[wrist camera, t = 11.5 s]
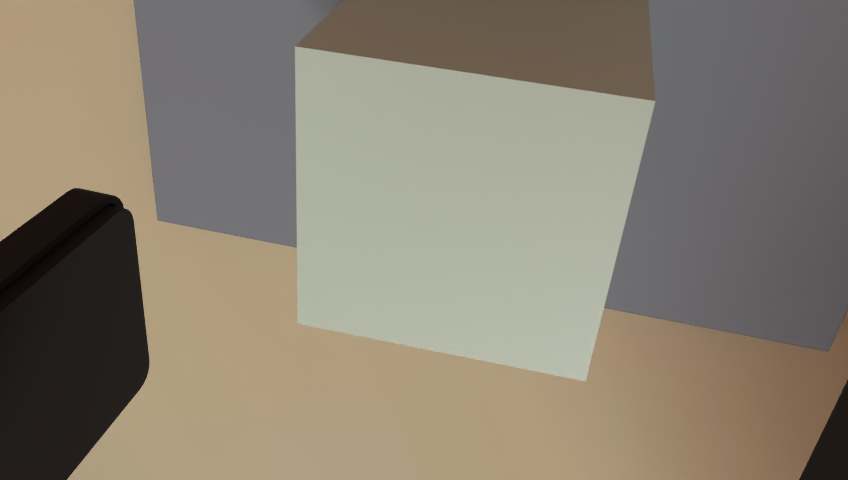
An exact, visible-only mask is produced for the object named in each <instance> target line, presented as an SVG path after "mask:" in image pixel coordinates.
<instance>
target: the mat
mask: <svg viewBox="0 0 848 480" xmlns="http://www.w3.org/2000/svg"><path fill="white" fill-rule="evenodd" d="M342 1H343V0H134V7H135V17H136V26H137V35H138V44H139V54H140V63H141V72H142V81H143V90H144V100H145V109H146V118H147V127H148V136H149V146H150V155H151V164H152V173H153V182H154V192H155V201H156V210H157V219H158V221H163V222H168V223H173V224H179V225H184V226H189V227H194V228H199V229H204V230H209V231H214V232H219V233H225V234H230V235H235V236H240V237H245V238H250V239H255V240H260V241H265V242H271V243H276V244H281V245H286V246H291V247H296V248H297V205H296V106H295V46H296V45H297V44H298V43H299V42H300V41H301V40H302V39H303V38H304V37H305V36H306V35H307V34H308V33H310V32H311V31H312V30H313V29H314V28H315V27H316V26H317V25H318V24H319V23H320V22H321V21H322V20H323V19H324V18H325V17H326V16H327V15H328V14H329V13H331V12H332V11H333V10H334V9H335V8H336V7H337V6H338V5H339V4H340V3H341V2H342ZM648 5H649V19H650V33H651V46H652V60H653V73H654V87H655V105H654V109H653V113H652V117H651V121H650V125H649V129H648V133H647V137H646V141H645V145H644V149H643V153H642V157H641V161H640V165H639V169H638V173H637V177H636V181H635V185H634V189H633V193H632V197H631V201H630V205H629V209H628V213H627V217H626V221H625V225H624V229H623V233H622V237H621V241H620V246H619V250H618V254H617V258H616V262H615V266H614V270H613V274H612V278H611V282H610V286H609V290H608V294H607V298H606V302H605V306H604V308H608V309H613V310H618V311H623V312H628V313H633V314H638V315H643V316H649V317H654V318H659V319H664V320H669V321H674V322H679V323H684V324H689V325H695V326H700V327H705V328H710V329H715V330H720V331H725V332H730V333H735V334H741V335H746V336H751V337H756V338H761V339H766V340H771V341H776V342H781V343H786V344H792V345H797V346H802V347H807V348H812V349H817V350H822V351H827V352H828V351H829V349H830V347H831V344H832V342H833V340H834V338H835V336H836V334H837V332H838V330H839V328H840V325H841V323H842V321H843V319H844V317H845V315H846V313H847V311H848V0H648Z"/></svg>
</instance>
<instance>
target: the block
mask: <svg viewBox="0 0 848 480" xmlns="http://www.w3.org/2000/svg"><path fill="white" fill-rule="evenodd" d="M654 105H655V87H654V73H653V60H652V46H651V33H650V19H649V5H648V0H343V1H342V2H341V3H340V4H339V5H338V6H337V7H336V8H335V9H334V10H333V11H332V12H331V13H329V14H328V15H327V16H326V17H325V18H324V19H323V20H322V21H321V22H320V23H319V24H318V25H317V26H316V27H315V28H314V29H313V30H312V31H311V32H310V33H308V34H307V35H306V36H305V37H304V38H303V39H302V40H301V41H300V42H299V43H298V44H297V45H296V46H295V106H296V205H297V304H298V324H301V325H306V326H311V327H316V328H321V329H326V330H331V331H336V332H341V333H346V334H351V335H356V336H361V337H366V338H371V339H376V340H381V341H386V342H391V343H396V344H401V345H406V346H411V347H416V348H421V349H426V350H431V351H436V352H441V353H446V354H452V355H457V356H462V357H467V358H472V359H477V360H482V361H487V362H492V363H497V364H502V365H507V366H512V367H517V368H522V369H527V370H532V371H537V372H542V373H547V374H552V375H557V376H562V377H567V378H572V379H577V380H582V381H586V378H587V374H588V370H589V366H590V362H591V358H592V354H593V350H594V346H595V342H596V338H597V334H598V330H599V326H600V322H601V318H602V314H603V310H604V306H605V302H606V298H607V294H608V290H609V286H610V282H611V278H612V274H613V270H614V266H615V262H616V258H617V254H618V250H619V246H620V241H621V237H622V233H623V229H624V225H625V221H626V217H627V213H628V209H629V205H630V201H631V197H632V193H633V189H634V185H635V181H636V177H637V173H638V169H639V165H640V161H641V157H642V153H643V149H644V145H645V141H646V137H647V133H648V129H649V125H650V121H651V117H652V113H653V109H654Z"/></svg>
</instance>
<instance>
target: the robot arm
mask: <svg viewBox="0 0 848 480" xmlns="http://www.w3.org/2000/svg"><path fill="white" fill-rule="evenodd" d="M148 370H149V353H148V344H147V335H146V327H145V318H144V309H143V300H142V291H141V282H140V273H139V264H138V255H137V246H136V237H135V228H134V220H133V216H132V214H131V212H130V211H129V210H127V209H124V207H123V204H122V202H121V200H120V199H119V198H117V197H116V196H113V195H108V194H103V193H99V192H94V191H89V190H84V189H80V188H74V189H72V190H70V191H68V192H66V193H65V194H64V195H62V196H61V197H60V198H58V199H57V200H56V201H54V202H53V203H52V204H50V205H49V206H48V207H46V208H45V209H44V210H42V211H41V212H40V213H38V214H37V215H36V216H34V217H33V218H31V219H30V220H29V221H27V222H26V223H25V224H23V225H22V226H21V227H19V228H18V229H17V230H15V231H14V232H13V233H11V234H10V235H9V236H7V237H6V238H5V239H3V240H2V241H1V242H0V480H67V479H68V477H69V476H70V475H71V474H72V472H73V471H74V470H75V469H76V468H77V466H78V465H79V464H80V463H81V461H82V460H83V459H84V458H85V456H86V455H87V454H88V453H89V451H90V450H91V449H92V448H93V446H94V445H95V444H96V443H97V442H98V440H99V439H100V438H101V437H102V435H103V434H104V433H105V432H106V430H107V429H108V428H109V427H110V425H111V424H112V423H113V422H114V421H115V419H116V418H117V417H118V416H119V414H120V413H121V412H122V411H123V409H124V408H125V407H126V406H127V404H128V403H129V402H130V401H131V399H132V398H133V397H134V396H135V395H136V393H137V392H138V391H139V390H140V388H141V387H142V385H143V384H144V382H145V380H146V377H147V374H148ZM799 480H848V380H847V383H846V385H845V387H844V389H843V391H842V393H841V395H840V397H839V399H838V401H837V403H836V405H835V407H834V409H833V411H832V413H831V415H830V418H829V420H828V422H827V424H826V426H825V428H824V430H823V432H822V434H821V436H820V438H819V440H818V442H817V444H816V446H815V448H814V450H813V453H812V455H811V457H810V459H809V461H808V463H807V465H806V467H805V469H804V471H803V473H802V475H801V477H800V479H799Z"/></svg>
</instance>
